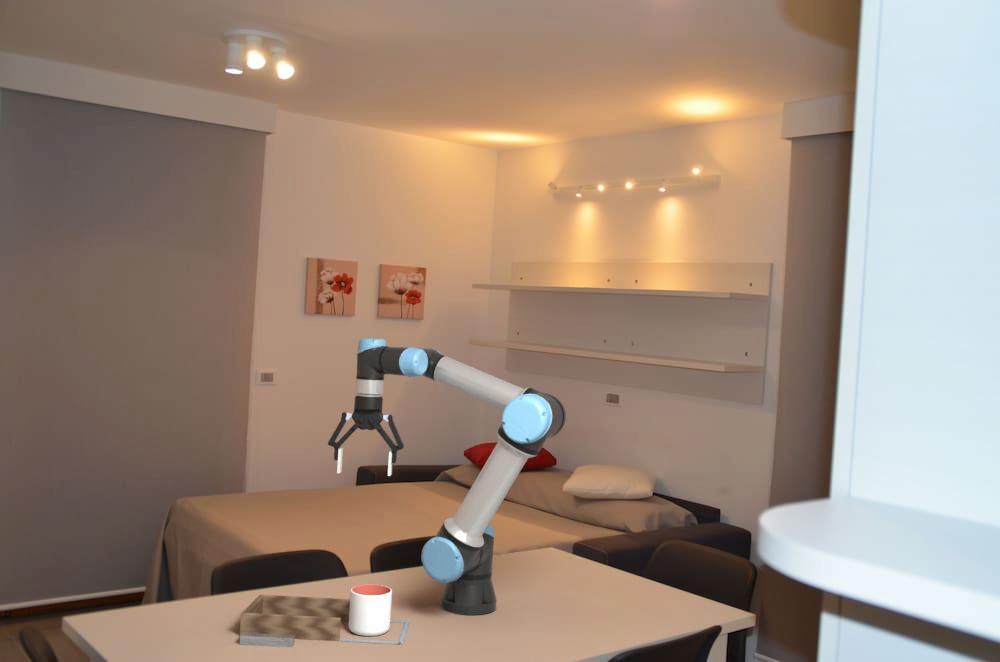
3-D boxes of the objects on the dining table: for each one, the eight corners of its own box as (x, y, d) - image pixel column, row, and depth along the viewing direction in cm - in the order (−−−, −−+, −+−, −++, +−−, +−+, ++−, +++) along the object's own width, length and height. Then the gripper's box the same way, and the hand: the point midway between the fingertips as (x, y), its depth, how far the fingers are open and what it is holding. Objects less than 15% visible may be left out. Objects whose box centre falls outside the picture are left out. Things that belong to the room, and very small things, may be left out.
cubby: (350, 619, 219) (351, 599, 220) (338, 640, 203) (339, 619, 203) (258, 614, 219) (259, 594, 219) (239, 635, 203) (241, 614, 203)
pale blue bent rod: (409, 621, 220) (409, 620, 220) (402, 644, 203) (402, 643, 203) (352, 618, 220) (352, 617, 220) (340, 641, 203) (340, 640, 203)
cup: (382, 639, 205) (384, 597, 206) (342, 635, 207) (344, 593, 207) (394, 627, 215) (397, 586, 216) (356, 622, 217) (358, 582, 217)
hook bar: (296, 641, 201) (296, 632, 201) (292, 647, 197) (292, 638, 197) (244, 638, 201) (245, 629, 201) (239, 644, 197) (240, 635, 197)
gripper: (416, 397, 238) (411, 474, 238) (325, 392, 238) (321, 469, 238) (413, 398, 231) (409, 478, 230) (320, 393, 231) (315, 473, 230)
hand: (364, 474), depth 234 cm, fingers open, 13 cm apart
